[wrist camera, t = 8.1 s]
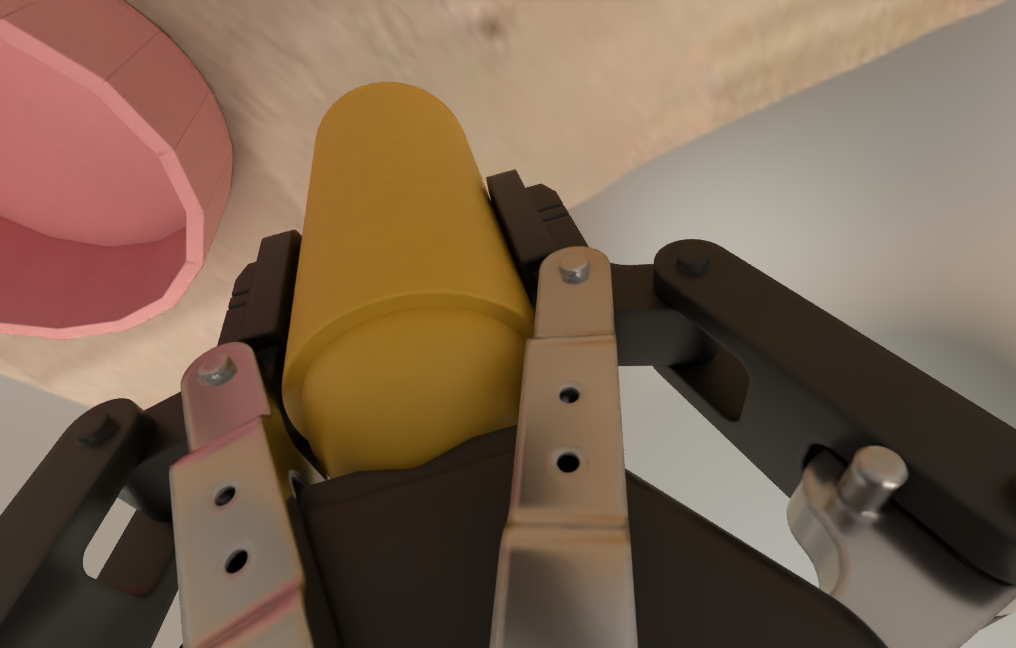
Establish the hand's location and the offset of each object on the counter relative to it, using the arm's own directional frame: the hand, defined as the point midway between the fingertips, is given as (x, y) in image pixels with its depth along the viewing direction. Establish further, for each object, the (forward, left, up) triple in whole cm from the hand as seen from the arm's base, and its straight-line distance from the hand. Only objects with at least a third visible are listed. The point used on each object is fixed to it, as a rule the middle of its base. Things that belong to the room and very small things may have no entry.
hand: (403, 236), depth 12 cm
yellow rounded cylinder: (0, 0, -4) cm, 4 cm away
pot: (+3, -16, -18) cm, 24 cm away
